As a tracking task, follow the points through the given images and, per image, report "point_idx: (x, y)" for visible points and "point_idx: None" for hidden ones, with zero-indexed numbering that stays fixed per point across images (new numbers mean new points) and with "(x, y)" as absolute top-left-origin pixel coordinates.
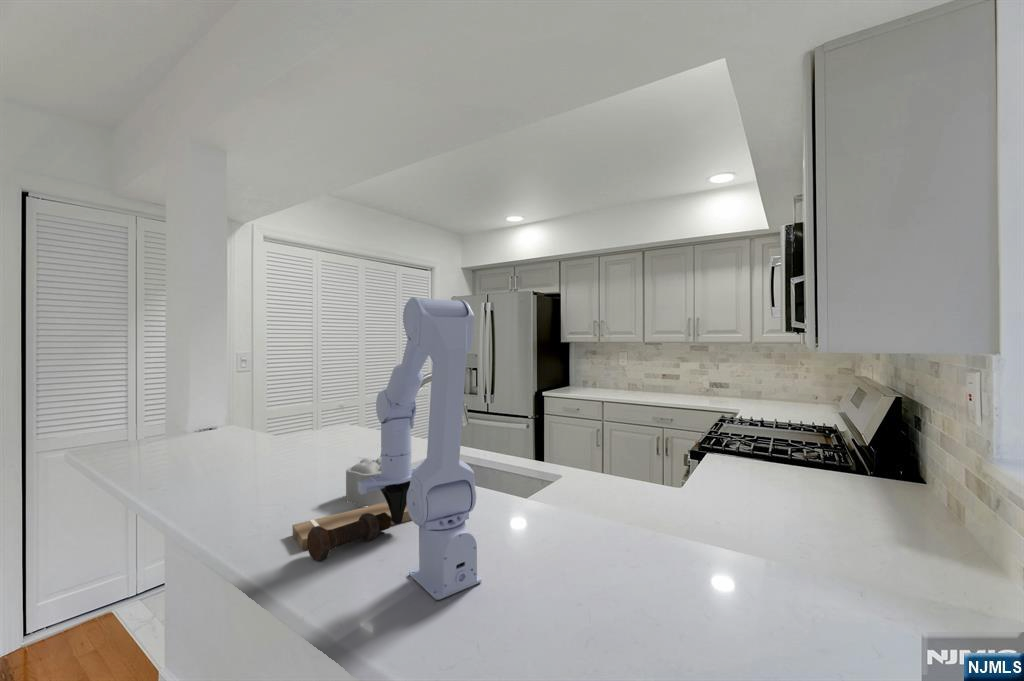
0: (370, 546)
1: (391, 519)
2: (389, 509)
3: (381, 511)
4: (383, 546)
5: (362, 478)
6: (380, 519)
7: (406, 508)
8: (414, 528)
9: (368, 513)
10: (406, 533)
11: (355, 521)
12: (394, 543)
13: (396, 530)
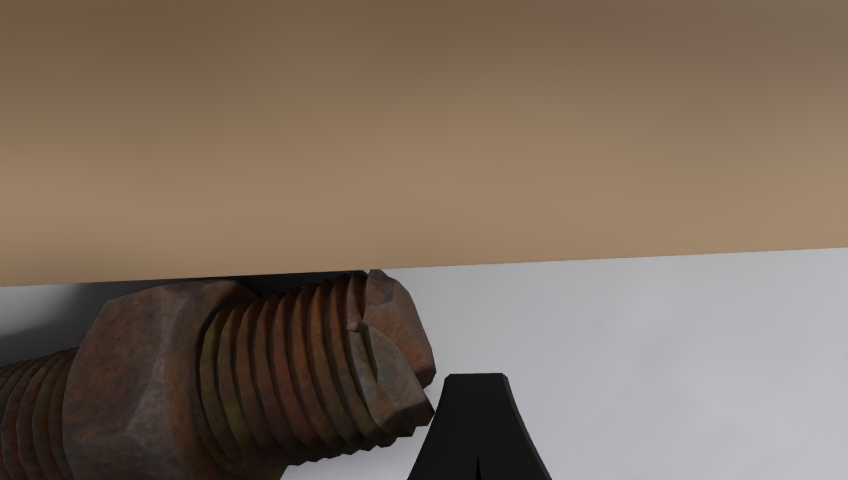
0: None
1: (427, 418)
2: (559, 35)
3: (428, 48)
4: (324, 469)
5: None
6: (298, 463)
7: (772, 148)
8: (622, 368)
9: (141, 457)
10: (525, 404)
11: (77, 183)
12: (396, 472)
13: (483, 322)
